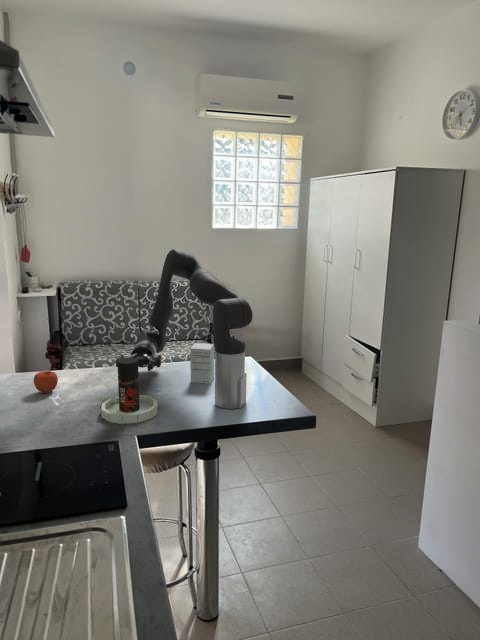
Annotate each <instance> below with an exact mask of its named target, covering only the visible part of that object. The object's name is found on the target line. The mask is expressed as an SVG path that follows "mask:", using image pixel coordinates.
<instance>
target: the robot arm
mask: <svg viewBox="0 0 480 640" xmlns="http://www.w3.org/2000/svg"><path fill="white" fill-rule="evenodd" d="M164 259H165V260H164V263H163V266H162V271H161V276H160V281H159V286H158V292H157V295H156V299H155V303H154V306H153V307H152V311H151V314H150V317H149V319H148V323H149V325H150V326H152V327H153V328H154V329H156V330H157V331H158V332H157V333H156V332H155V331H151V330H149V329H144V330H142V331H140V332H139V334H138V336H137V340H136V341H137V343H136V345H135V347H134V348H133V349H132V351H131V353H130V354H129V355H128V356H124V354H120V355H118V357H117V358H116V359H115V366H116V368H118V365H117V361H118V360H119V359H122V358H136V359H138V368H142V369H143V368H147V372H151V371H152V370H153V369H154V368H155V367H156V368H161V365H162V355H161V354H159V353H161V352H163V350H164V349H165V346H166V340H167V339H166V335H167V329H168V324H169V322H170V319H171V316H172V313H173V309H174V301H173V297H172V292H171V284H172V278H173V276H176V277H179V278H182V279H186V280H187V281H189V285H188V286H189V289H190V291H191V293H192V294H193V296H195V297H196V298H197V299H198V300H199V301H200V302H202V303H204V304H206V305H209V306H211V307H213V308H212V325H213V326H212V327H213V340H214V342H213V344H214V405H215V406H216V407H219V408H221V409H227V410H228V409H231V410H232V409H242V407H244V405H245V403H246V402H247V376H248V375H247V373H246V372H245V371H246V367H245V366H246V343H245V341H244V340H242V339H240V338H237V337H233V336H231V332H230V330H237V329H244V328H247V327H248V326H249V325H250V324H251V323H252V321H253V317H254V315H253V310H252V308H251V305H250V304H249V302H248V301H247V300H246V298H244V297H242V296H241V295H239V294H237V293H236V292H234V291H233V290H231V289H230V288H229V287H227V286H226V285H225V284H224V283H222V282H221V281H220V280H219V279H218V278H217V276H215V275H214V274H213V273H211V272H210V271H209V270H208V269H206V268H205V267H204V266H203V265H202V263H201V262H200V261H199V260H198V259H197V257H196V256H194V254H191V253H188V252H184V251H182V250H179V249H176V248H174V249H173V248H172V249H171V250H170V251H169V252H168V253H167V254H166V256H165V258H164ZM156 354H157V356H156Z"/></svg>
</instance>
